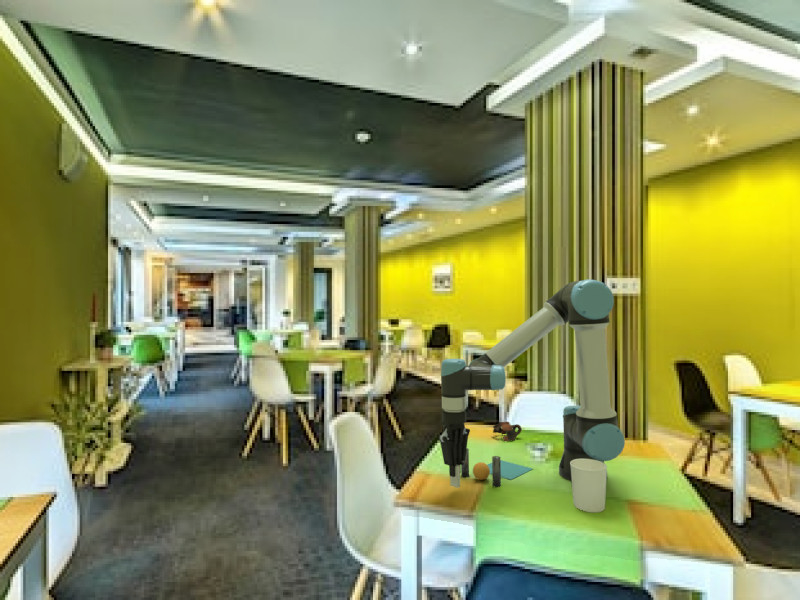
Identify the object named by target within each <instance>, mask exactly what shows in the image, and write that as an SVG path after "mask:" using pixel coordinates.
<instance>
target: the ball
mask: <svg viewBox="0 0 800 600" xmlns="http://www.w3.org/2000/svg"><path fill="white" fill-rule="evenodd" d="M487 465H488V464H486V463H485V462H482V461H481V462H477V463H476V464H475V465H474V466H473V468H472V474H473V476H474V477H475V478H476V479H477V480H479V481H484V480H486V479H488V478H489V476H490V475H491V474H490V469H489V467H488V466H487Z"/></svg>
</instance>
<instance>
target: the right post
mask: <svg viewBox="0 0 800 600" xmlns="http://www.w3.org/2000/svg"><path fill="white" fill-rule="evenodd" d="M501 460H502V459H501V456H498V455H492V457H491V463H492V474H491V477H492V486H493V487H494V486H495V487H494V488H500V486H501V487H502V477H501Z"/></svg>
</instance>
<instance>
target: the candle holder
mask: <svg viewBox="0 0 800 600" xmlns="http://www.w3.org/2000/svg"><path fill="white" fill-rule="evenodd" d="M570 466H571V479H572V481H571V489H572V502H573V506H574V507H575V508H576V509H577V508H578V509H577V510H579V509H580V511H582V510H583V511H582V512H585V511H586V513H595V514H596V513H600V512H603V511H604V510H605V509H606V497H607V496H606V495H607V494H606V493H607V480H606V475H607V476H608V465H607V464H606V463H605V462H604V463H603V462H601V461H597V460H593V459H575V460H572V461H571V462H570Z"/></svg>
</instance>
